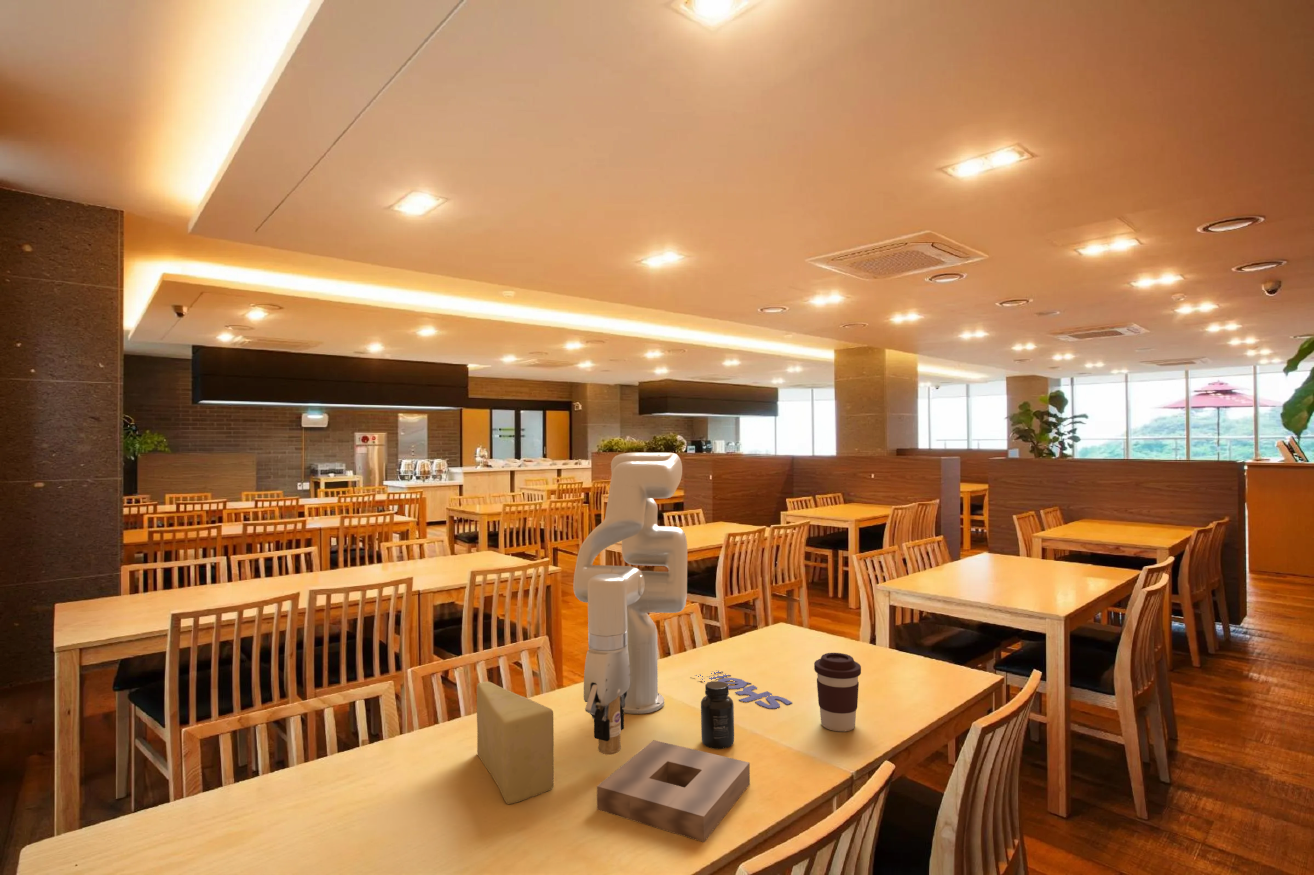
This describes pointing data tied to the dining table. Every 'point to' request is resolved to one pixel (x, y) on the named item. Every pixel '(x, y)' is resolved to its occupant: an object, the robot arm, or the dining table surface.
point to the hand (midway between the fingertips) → (609, 732)
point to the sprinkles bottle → (612, 729)
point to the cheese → (515, 742)
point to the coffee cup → (837, 690)
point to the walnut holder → (675, 789)
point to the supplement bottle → (717, 716)
